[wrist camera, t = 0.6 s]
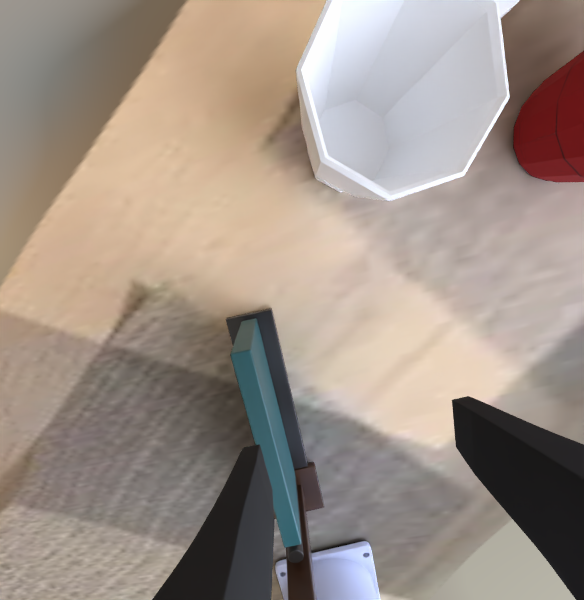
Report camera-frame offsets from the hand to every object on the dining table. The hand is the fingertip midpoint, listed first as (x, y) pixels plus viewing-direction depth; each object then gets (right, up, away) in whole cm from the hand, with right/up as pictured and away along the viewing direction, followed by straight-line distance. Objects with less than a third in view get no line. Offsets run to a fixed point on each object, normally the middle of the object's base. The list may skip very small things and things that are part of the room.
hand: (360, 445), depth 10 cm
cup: (+2, +15, +6) cm, 16 cm away
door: (-4, -2, +9) cm, 10 cm away
